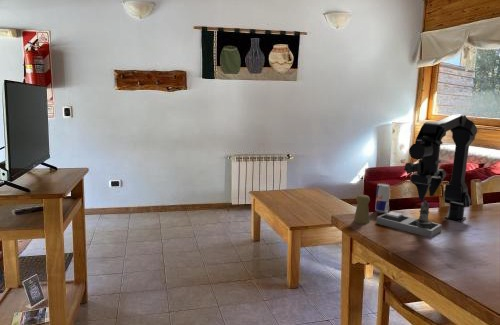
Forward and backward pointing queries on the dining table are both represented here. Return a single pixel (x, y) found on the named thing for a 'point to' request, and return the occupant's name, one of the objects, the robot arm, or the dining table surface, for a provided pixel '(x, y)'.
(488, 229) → the dining table surface
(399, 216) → the plugged module
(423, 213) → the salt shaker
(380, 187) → the energy drink
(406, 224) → the socket strip
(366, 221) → the olive pepper mill
